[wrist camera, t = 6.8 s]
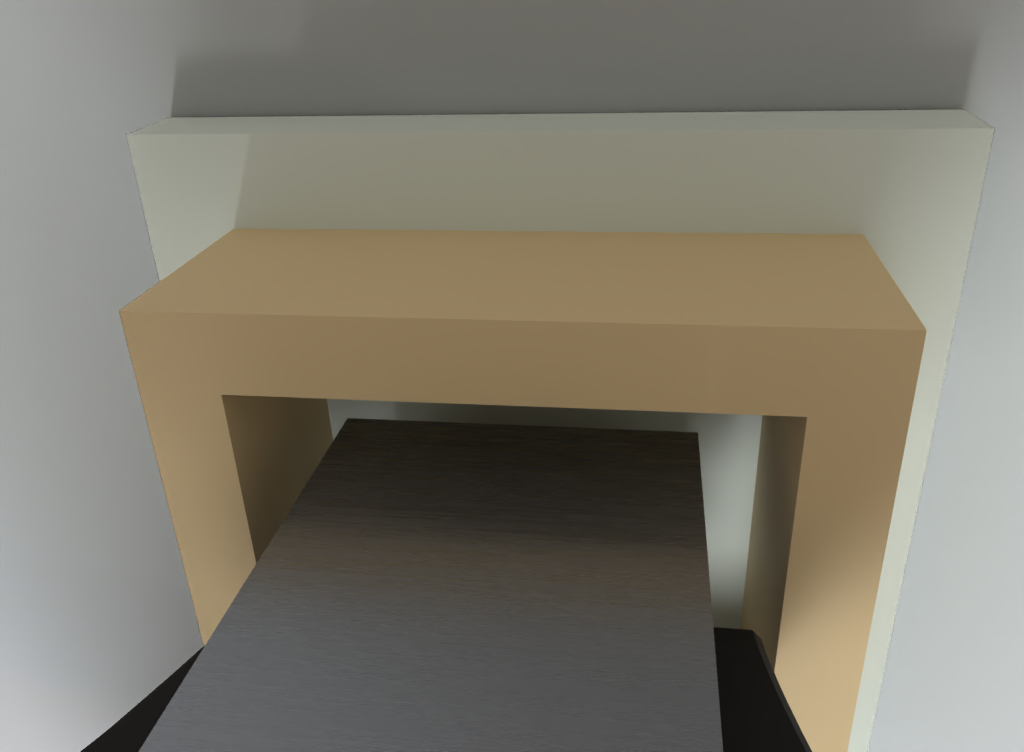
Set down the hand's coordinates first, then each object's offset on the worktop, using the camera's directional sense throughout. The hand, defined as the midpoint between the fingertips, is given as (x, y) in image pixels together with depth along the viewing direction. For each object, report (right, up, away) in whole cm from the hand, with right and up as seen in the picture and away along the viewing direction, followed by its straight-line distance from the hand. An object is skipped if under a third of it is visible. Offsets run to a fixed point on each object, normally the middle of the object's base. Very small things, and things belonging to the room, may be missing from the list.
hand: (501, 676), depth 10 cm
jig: (+1, +2, +4) cm, 5 cm away
